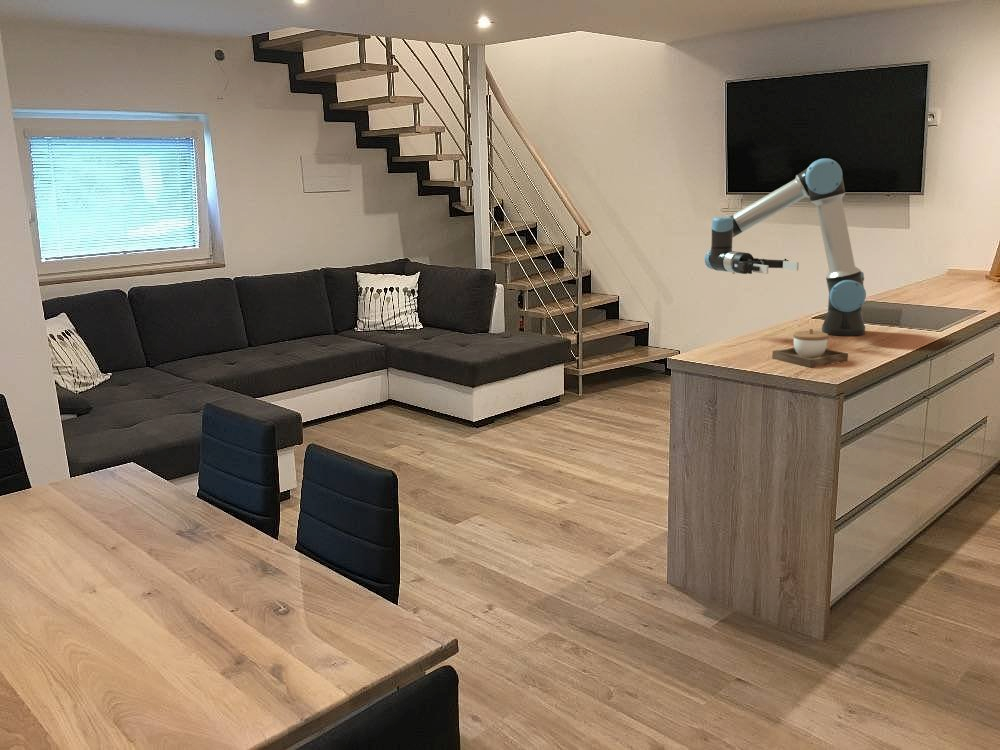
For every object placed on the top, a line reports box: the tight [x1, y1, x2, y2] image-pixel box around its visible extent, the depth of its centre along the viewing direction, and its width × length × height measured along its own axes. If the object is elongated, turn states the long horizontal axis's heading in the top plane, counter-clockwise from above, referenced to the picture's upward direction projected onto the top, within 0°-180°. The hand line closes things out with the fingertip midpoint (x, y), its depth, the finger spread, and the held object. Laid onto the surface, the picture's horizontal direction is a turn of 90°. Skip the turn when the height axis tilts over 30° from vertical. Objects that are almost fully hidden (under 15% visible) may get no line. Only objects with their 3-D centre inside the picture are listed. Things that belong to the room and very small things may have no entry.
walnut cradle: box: [772, 347, 849, 368], centre depth 285 cm, size 16×16×2 cm
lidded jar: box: [792, 328, 829, 359], centre depth 284 cm, size 11×11×9 cm
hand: (782, 268), depth 296 cm, fingers open, 13 cm apart
